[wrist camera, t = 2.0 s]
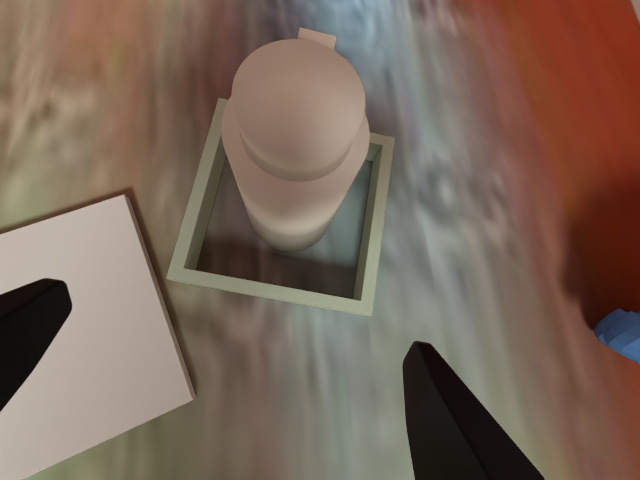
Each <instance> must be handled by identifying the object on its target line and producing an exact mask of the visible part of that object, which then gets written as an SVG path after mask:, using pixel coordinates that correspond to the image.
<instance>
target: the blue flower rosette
mask: <svg viewBox="0 0 640 480" xmlns="http://www.w3.org/2000/svg"><path fill="white" fill-rule="evenodd" d="M594 333H595V336H596V337H597V338H598V340H599V341H600V342H601V343H603V344H605V345H607V346H608V347H610V348H611V349H613V350H615V351H616V352H618V353H620V354H622V355H623V356H625V357H627V358H629V359H631V360H633V361H635V362H637V363H639V364H640V310H638V311H637V312H636V313H635V312H632V311H630V312H626V311H623V310H621V309H616V310H615V311H613V312H612V313H610V314H608V315H607V316H606V317H605V318H603V319H602V320H601V321H600V322H599V323H598V324H597V325H596V326H595V329H594Z"/></svg>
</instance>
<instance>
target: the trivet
mask: <svg viewBox="0 0 640 480" xmlns="http://www.w3.org/2000/svg"><path fill="white" fill-rule="evenodd" d="M43 278H51V279H57V280H62V281H64V282H65V283H66V284H67V287H68V291H69V294H70V297H71V301H72V311H71V313H70V315H69V317H68V318H67V320H66V321H65V323H64V324H63V326H62V327H61V329H60V330H59V332H58V334H57V335H56V337H55V338H54V340H53V341H52V343H51V344H50V346H49V347H48V349H47V351H46V352H45V354H44V355H43V357H42V358H41V360H40V361H39V363H38V364H37V366H36V367H35V369H34V370H33V371H32V373H31V374H30V375H29V377H28V378H27V379H26V381H25V382H24V383H23V384H22V386H21V387H20V388H19V389H18V391H17V392H16V393H15V394H14V396H13V397H12V398H11V399H10V401H9V402H8V403H7V405H6V406H5V407H4V408H3V410H2V411H1V412H0V480H22V479H25V478H27V477H29V476H31V475H33V474H35V473H37V472H40V471H42V470H44V469H46V468H48V467H50V466H53V465H55V464H57V463H59V462H61V461H63V460H65V459H68V458H70V457H72V456H74V455H76V454H78V453H80V452H83V451H85V450H87V449H89V448H91V447H93V446H96V445H98V444H100V443H102V442H104V441H106V440H108V439H111V438H113V437H115V436H117V435H119V434H121V433H124V432H126V431H128V430H130V429H132V428H134V427H136V426H139V425H141V424H143V423H145V422H147V421H149V420H151V419H154V418H156V417H158V416H160V415H162V414H164V413H167V412H169V411H171V410H173V409H175V408H177V407H179V406H182V405H184V404H186V403H188V402H190V401H192V400H193V399H194V398H195V397H196V395H195V392H194V389H193V386H192V383H191V380H190V377H189V374H188V371H187V368H186V365H185V362H184V359H183V356H182V353H181V350H180V347H179V344H178V341H177V338H176V335H175V332H174V329H173V326H172V323H171V320H170V317H169V315H168V312H167V309H166V306H165V303H164V300H163V297H162V294H161V291H160V288H159V285H158V282H157V279H156V276H155V273H154V270H153V267H152V264H151V261H150V258H149V255H148V252H147V249H146V246H145V243H144V240H143V237H142V234H141V231H140V228H139V225H138V222H137V220H136V217H135V214H134V211H133V208H132V205H131V202H130V199H129V198H128V197H127V196H125V195H121V196H118V197H115V198H111V199H108V200H105V201H102V202H99V203H96V204H93V205H90V206H87V207H84V208H81V209H78V210H74V211H71V212H68V213H65V214H62V215H59V216H56V217H53V218H50V219H47V220H44V221H41V222H37V223H34V224H31V225H28V226H25V227H22V228H19V229H16V230H13V231H10V232H7V233H4V234H0V294H3V293H5V292H8V291H11V290H13V289H16V288H19V287H21V286H24V285H27V284H29V283H32V282H35V281H37V280H40V279H43Z"/></svg>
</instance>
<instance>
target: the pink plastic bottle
mask: <svg viewBox="0 0 640 480" xmlns="http://www.w3.org/2000/svg"><path fill="white" fill-rule="evenodd" d="M336 37H337V36H333V35H329V34H325V33H321V32H317V31H313V30H309V29H305V28H301V27H300V29H299V33H298V38H297V39H285V40H279V41H275V42H271V43H269V44H266V45H264V46H262V47H260V48H258V49H256V50H255V51H254V52H252V53H251V54H250V55H249V56H248V57H247V58H246V59H245V60H244V61H243V62H242V64H241V65H240V66H239V68H238V70H237V72H236V74H235V77H234V80H233V85H232V95H231V97H230V98H229V100H228V102H227V104H226V106H225V109H224V112H223V116H222V121H221V135H222V142H223V146H224V149H225V152H226V155H227V157H228V160H229V163H230V166H231V169H232V171H233V174H234V177H235V180H236V182H237V185H238V188H239V191H240V193H241V196H242V199H243V202H244V205H245V207H246V210H247V213H248V216H249V218H250V221H251V224H252V227H253V229H254V231H255V233H256V234H257V236H258V237H259V238H260V239H261V240H262V241H263V242H264V243H265V244H266V245H268V246H270V247H271V248H273V249H276V250H279V251H283V252H298V251H302V250H305V249H307V248H309V247H311V246H313V245H314V244H316V243H317V242H318V241H319V240H320V239H321V238H322V236H323V235H324V233H325V231H326V230H327V228H328V226H329V224H330V222H331V221H332V219H333V217H334V215H335V213H336V212H337V210H338V208H339V206H340V204H341V202H342V201H343V199H344V197H345V195H346V193H347V192H348V190H349V188H350V186H351V184H352V182H353V181H354V179H355V177H356V175H357V173H358V172H359V170H360V168H361V166H362V164H363V162H364V160H365V158H366V155H367V152H368V147H369V139H370V134H369V125H368V120H367V117H366V114H365V93H364V88H363V85H362V82H361V80H360V78H359V76H358V74H357V72H356V71H355V69H354V68H353V67H352V66H351V64H350V63H349V62H348V61H347V60H346V59H345V58H344V57H343V56H341V55H340V54H339V53H337V52H336V51H334V47H335V42H336Z"/></svg>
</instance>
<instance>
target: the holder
mask: <svg viewBox="0 0 640 480" xmlns="http://www.w3.org/2000/svg"><path fill="white" fill-rule="evenodd" d="M227 102H228V100H226V99H222V98H218V102H217V105H216V108H215V112H214V115H213V119H212V122H211V126H210V129H209V133H208V136H207V140H206V143H205V146H204V150H203V153H202V157H201V160H200V164H199V167H198V171H197V174H196V177H195V181H194V184H193V188H192V191H191V195H190V198H189V202H188V205H187V209H186V212H185V215H184V219H183V222H182V226H181V229H180V233H179V236H178V240H177V243H176V246H175V250H174V253H173V257H172V260H171V264H170V267H169V271H168V274H167V278H166V279H168V280H172V281H176V282H180V283H185V284H191V285H196V286H202V287H207V288H213V289H218V290H224V291H229V292H235V293H240V294H246V295H252V296H257V297H263V298H268V299H274V300H279V301H285V302H290V303H296V304H301V305H307V306H312V307H318V308H323V309H329V310H334V311H340V312H346V313H351V314H357V315H363V316H372V310H373V302H374V295H375V287H376V279H377V272H378V264H379V257H380V249H381V241H382V234H383V226H384V218H385V211H386V203H387V195H388V188H389V180H390V172H391V165H392V157H393V149H394V142H395V138H394V137H390V136H385V135H381V134H376V133H372V132H369V134H370V139H369V147H368V152H367V155H366V158H365V160H369V161H373V165H372V171H371V178H370V185H369V192H368V199H367V205H366V212H365V219H364V226H363V233H362V240H361V246H360V253H359V260H358V267H357V274H356V281H355V287H354V294H353V299H348V298H342V297H337V296H331V295H326V294H321V293H315V292H310V291H304V290H299V289H293V288H288V287H283V286H277V285H272V284H266V283H261V282H255V281H250V280H245V279H239V278H234V277H228V276H223V275H217V274H212V273H207V272H201V271H196V266H197V263H198V259H199V255H200V252H201V248H202V244H203V240H204V237H205V233H206V229H207V226H208V222H209V218H210V214H211V211H212V207H213V203H214V200H215V196H216V192H217V188H218V185H219V181H220V177H221V174H222V170H223V166H224V163H225V159H226V152H225V149H224V146H223V142H222V135H221V121H222V116H223V112H224V109H225V106H226V104H227Z"/></svg>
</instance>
